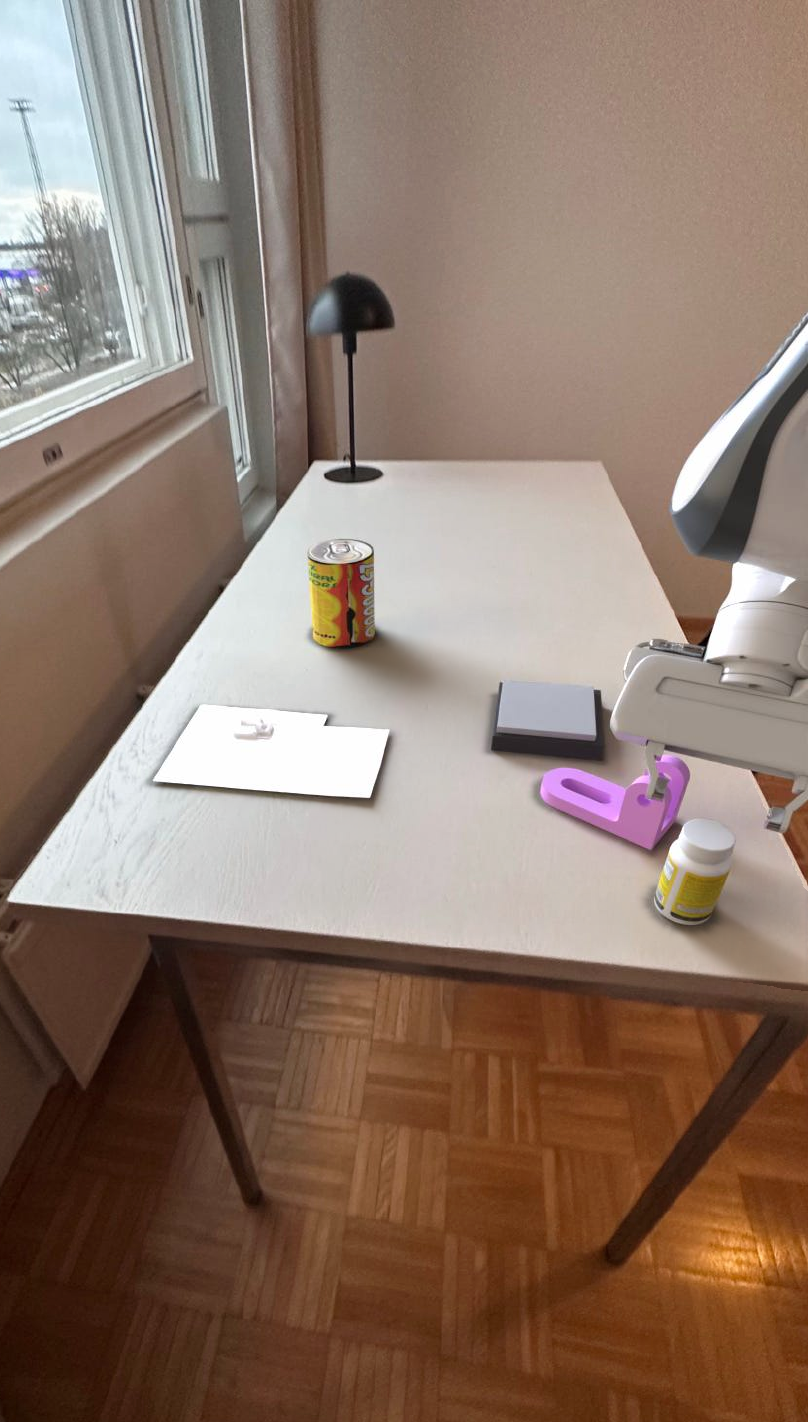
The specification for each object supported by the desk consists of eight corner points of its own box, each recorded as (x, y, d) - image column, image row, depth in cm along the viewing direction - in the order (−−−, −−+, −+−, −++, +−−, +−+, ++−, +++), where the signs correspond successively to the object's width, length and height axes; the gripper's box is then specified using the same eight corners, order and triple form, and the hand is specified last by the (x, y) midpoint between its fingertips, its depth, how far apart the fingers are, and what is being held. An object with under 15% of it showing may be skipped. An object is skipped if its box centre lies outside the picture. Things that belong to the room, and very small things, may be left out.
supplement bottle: (723, 912, 63) (755, 839, 58) (686, 935, 61) (716, 862, 56) (677, 879, 66) (703, 807, 61) (641, 901, 65) (664, 828, 59)
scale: (597, 704, 89) (602, 683, 87) (601, 760, 80) (606, 739, 79) (497, 696, 91) (500, 676, 90) (490, 750, 83) (493, 729, 81)
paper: (149, 788, 80) (147, 780, 79) (195, 705, 92) (193, 697, 92) (377, 801, 76) (377, 793, 76) (392, 713, 89) (392, 706, 88)
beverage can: (318, 651, 102) (312, 566, 94) (308, 624, 109) (302, 542, 101) (381, 643, 103) (380, 559, 96) (367, 616, 110) (365, 535, 102)
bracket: (675, 820, 72) (694, 763, 68) (650, 850, 69) (669, 792, 65) (557, 771, 79) (567, 716, 75) (530, 796, 76) (539, 741, 72)
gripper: (635, 621, 62) (585, 775, 62) (918, 669, 55) (861, 846, 55) (634, 646, 68) (588, 788, 68) (889, 693, 60) (838, 853, 60)
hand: (712, 814), depth 61 cm, fingers open, 8 cm apart
